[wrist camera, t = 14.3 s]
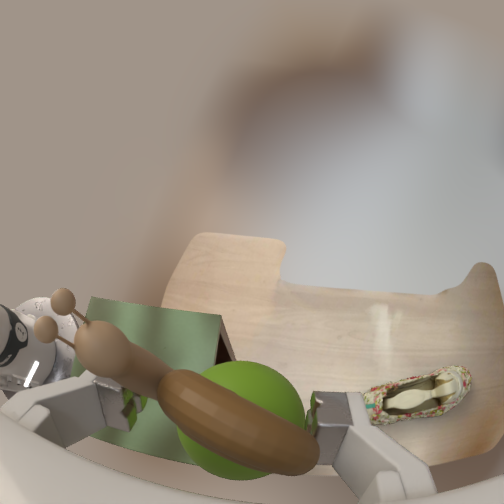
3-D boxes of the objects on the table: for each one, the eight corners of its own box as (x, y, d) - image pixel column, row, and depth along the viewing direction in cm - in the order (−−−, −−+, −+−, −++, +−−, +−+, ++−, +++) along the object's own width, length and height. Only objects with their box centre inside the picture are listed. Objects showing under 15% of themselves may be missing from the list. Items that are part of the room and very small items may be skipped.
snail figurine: (203, 347, 16) (115, 198, 6) (313, 396, 15) (428, 321, 4) (157, 431, 14) (-18, 411, 3) (269, 485, 12) (294, 609, 2)
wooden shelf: (162, 429, 44) (61, 424, 19) (173, 364, 50) (91, 296, 25) (233, 442, 43) (199, 466, 18) (241, 374, 50) (221, 314, 24)
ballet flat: (470, 401, 43) (494, 394, 37) (359, 441, 42) (376, 443, 36) (461, 358, 48) (483, 347, 41) (351, 391, 47) (366, 385, 40)
